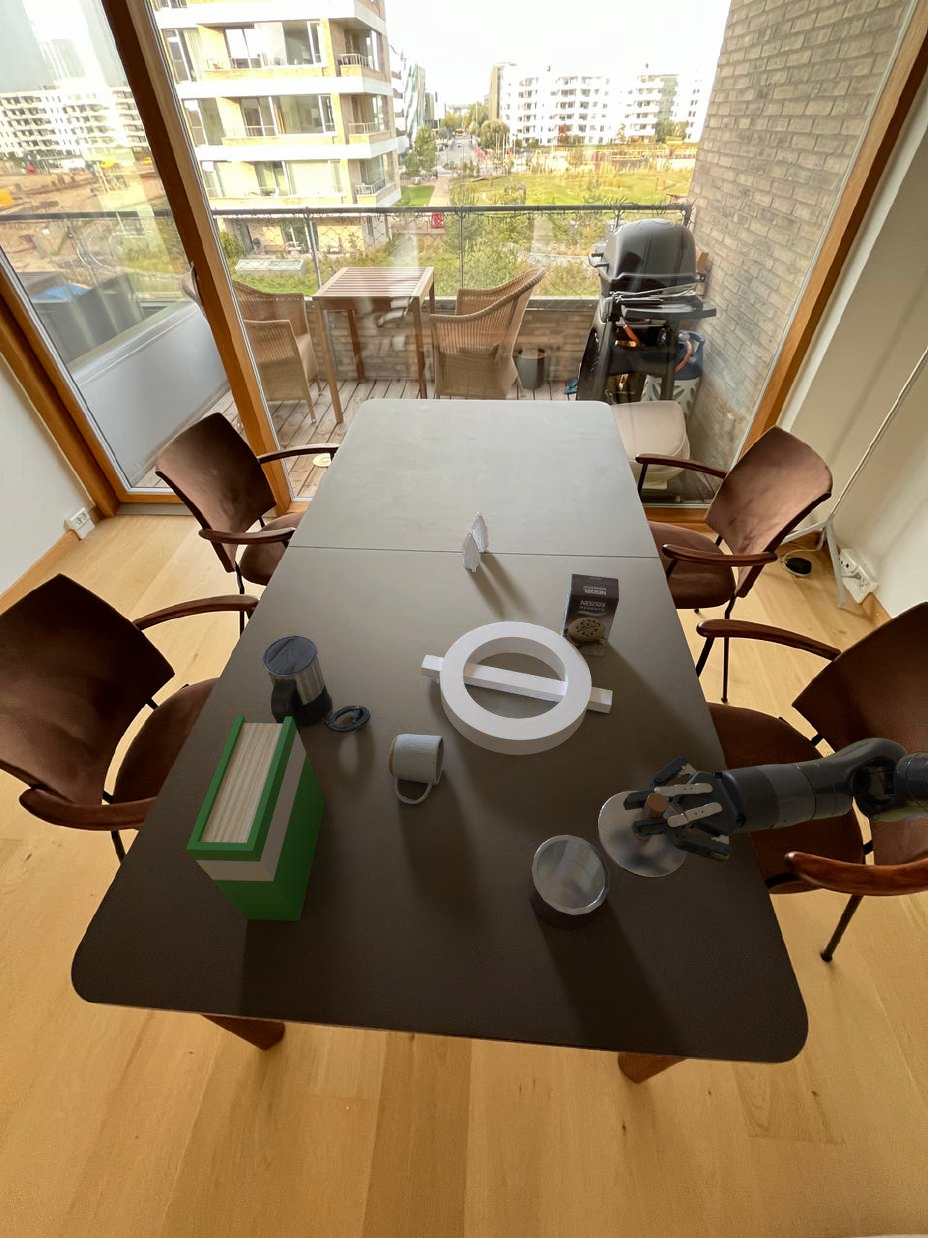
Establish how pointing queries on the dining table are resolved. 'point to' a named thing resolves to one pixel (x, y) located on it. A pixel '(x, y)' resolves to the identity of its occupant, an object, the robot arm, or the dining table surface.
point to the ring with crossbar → (516, 687)
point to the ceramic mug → (416, 761)
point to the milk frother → (303, 687)
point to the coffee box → (590, 612)
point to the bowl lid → (638, 837)
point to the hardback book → (261, 821)
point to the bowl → (568, 882)
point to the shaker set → (475, 543)
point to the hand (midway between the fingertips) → (629, 815)
